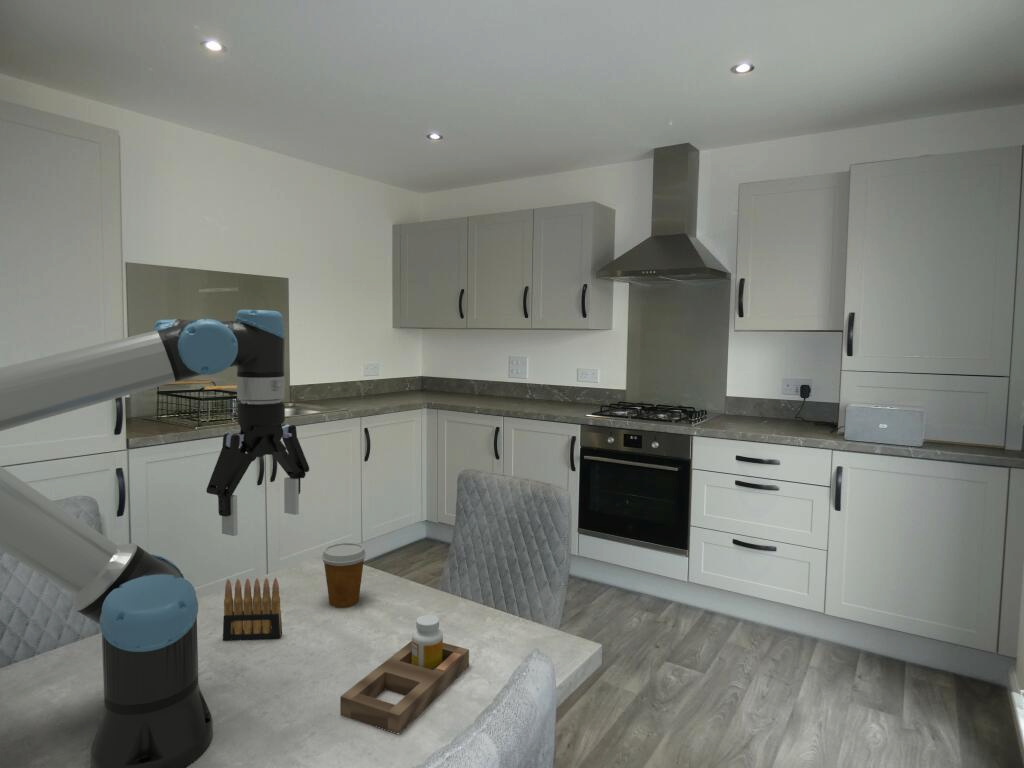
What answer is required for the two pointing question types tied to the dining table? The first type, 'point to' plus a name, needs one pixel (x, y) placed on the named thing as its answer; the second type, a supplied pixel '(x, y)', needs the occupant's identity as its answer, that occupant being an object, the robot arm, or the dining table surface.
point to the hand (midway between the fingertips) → (262, 523)
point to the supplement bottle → (427, 643)
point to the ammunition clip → (252, 612)
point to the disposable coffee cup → (343, 573)
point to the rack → (402, 688)
